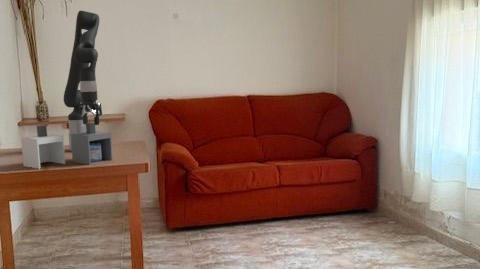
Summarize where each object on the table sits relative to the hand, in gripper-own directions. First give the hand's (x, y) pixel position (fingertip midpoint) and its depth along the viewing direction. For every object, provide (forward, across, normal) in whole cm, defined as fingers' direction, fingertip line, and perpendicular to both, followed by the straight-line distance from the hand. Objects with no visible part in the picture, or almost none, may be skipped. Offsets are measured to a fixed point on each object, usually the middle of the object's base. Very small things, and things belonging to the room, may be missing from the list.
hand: (91, 124), depth 223 cm
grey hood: (+18, -13, -18) cm, 28 cm away
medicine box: (+18, 0, 0) cm, 18 cm away
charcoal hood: (+18, 0, 0) cm, 18 cm away
